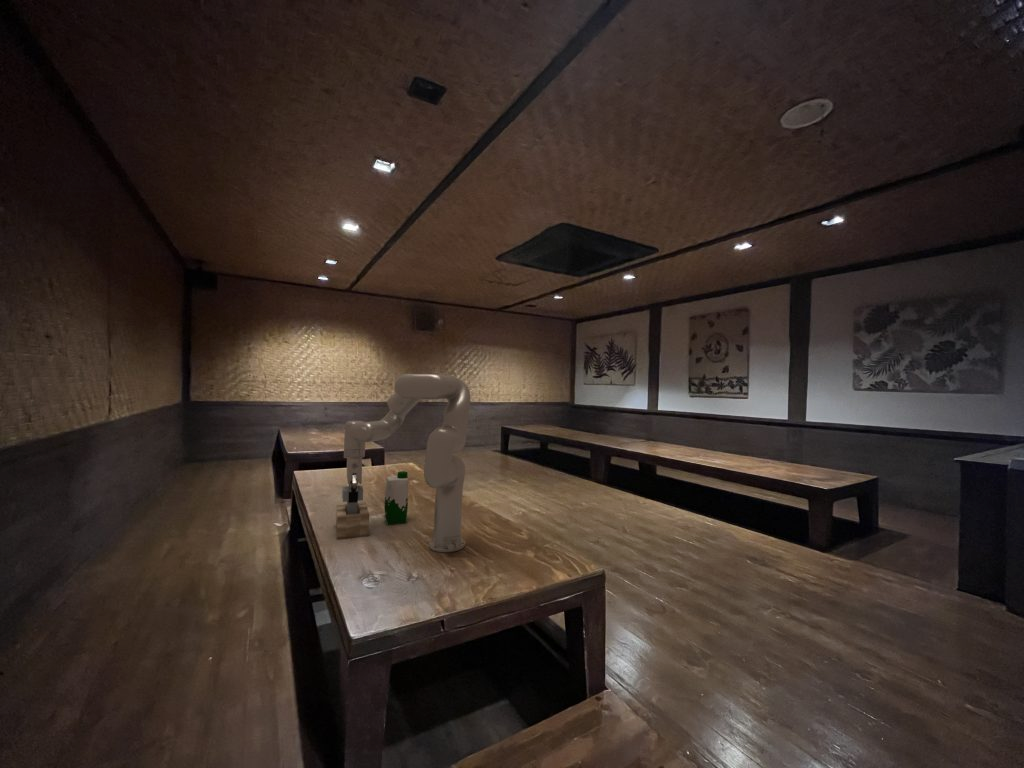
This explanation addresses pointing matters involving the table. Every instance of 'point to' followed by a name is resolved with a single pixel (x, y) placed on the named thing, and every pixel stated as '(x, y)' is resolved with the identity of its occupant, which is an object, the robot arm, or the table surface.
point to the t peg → (345, 496)
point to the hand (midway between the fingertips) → (352, 499)
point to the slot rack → (352, 522)
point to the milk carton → (396, 498)
